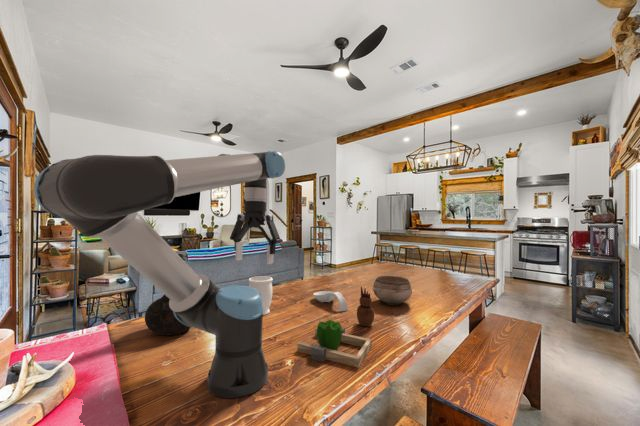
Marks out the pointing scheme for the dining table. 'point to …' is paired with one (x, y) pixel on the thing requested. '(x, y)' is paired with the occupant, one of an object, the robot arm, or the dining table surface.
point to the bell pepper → (329, 334)
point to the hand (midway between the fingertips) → (254, 262)
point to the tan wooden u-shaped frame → (340, 357)
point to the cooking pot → (392, 289)
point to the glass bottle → (163, 317)
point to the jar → (263, 290)
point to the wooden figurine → (365, 309)
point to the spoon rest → (331, 298)
